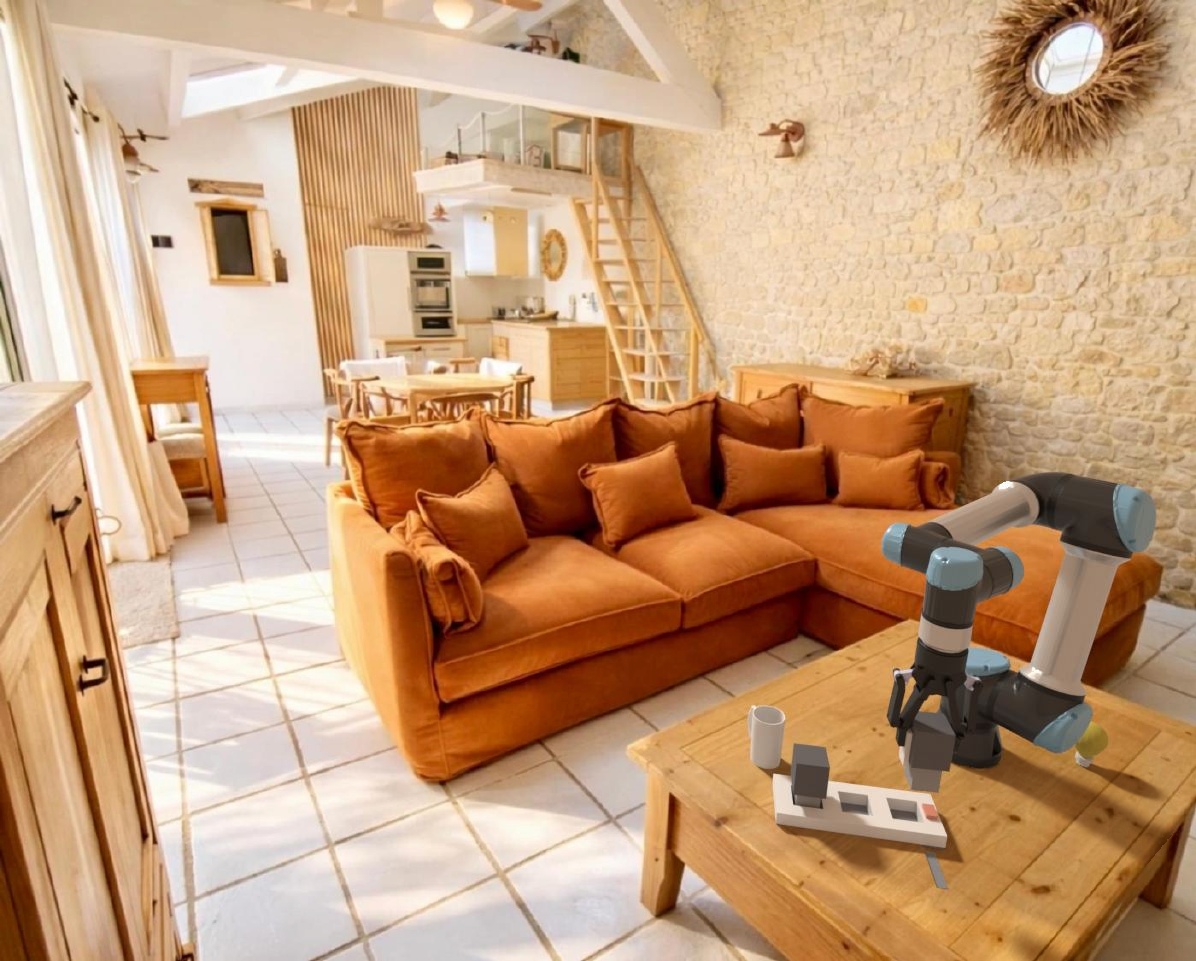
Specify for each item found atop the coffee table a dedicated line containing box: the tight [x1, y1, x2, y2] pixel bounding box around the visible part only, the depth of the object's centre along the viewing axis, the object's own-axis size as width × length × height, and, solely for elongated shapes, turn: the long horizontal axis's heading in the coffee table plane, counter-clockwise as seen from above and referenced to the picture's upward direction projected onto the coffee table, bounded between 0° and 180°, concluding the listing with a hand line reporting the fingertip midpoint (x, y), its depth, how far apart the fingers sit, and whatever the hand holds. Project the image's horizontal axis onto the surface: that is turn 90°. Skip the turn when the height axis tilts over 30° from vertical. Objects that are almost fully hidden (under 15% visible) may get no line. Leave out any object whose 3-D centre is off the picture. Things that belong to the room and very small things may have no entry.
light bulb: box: [1073, 721, 1109, 768], centre depth 147 cm, size 7×7×10 cm
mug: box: [747, 704, 786, 770], centre depth 147 cm, size 10×7×12 cm, turn 23°
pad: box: [923, 850, 949, 890], centre depth 121 cm, size 8×8×1 cm
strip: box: [771, 773, 948, 851], centre depth 132 cm, size 30×11×4 cm, turn 80°
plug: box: [903, 710, 956, 794], centre depth 116 cm, size 6×6×12 cm
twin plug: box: [790, 743, 831, 809], centre depth 132 cm, size 6×6×12 cm
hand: (923, 763), depth 117 cm, fingers closed on plug, 6 cm apart
